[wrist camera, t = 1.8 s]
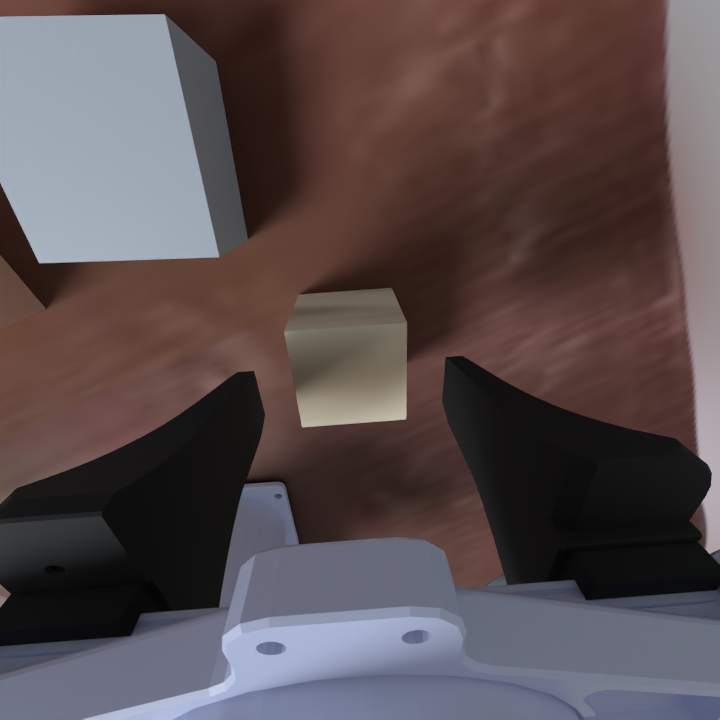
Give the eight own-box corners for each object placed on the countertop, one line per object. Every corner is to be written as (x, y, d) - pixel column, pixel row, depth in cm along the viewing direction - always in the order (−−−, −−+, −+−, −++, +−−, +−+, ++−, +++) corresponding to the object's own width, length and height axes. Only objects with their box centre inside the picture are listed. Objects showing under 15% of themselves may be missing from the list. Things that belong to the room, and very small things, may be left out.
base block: (248, 238, 15) (219, 257, 11) (112, 243, 15) (39, 263, 11) (217, 63, 12) (164, 14, 8) (47, 66, 12) (-80, 18, 8)
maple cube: (392, 367, 18) (406, 419, 14) (311, 373, 18) (302, 427, 14) (391, 287, 16) (407, 322, 12) (298, 294, 16) (284, 331, 12)
